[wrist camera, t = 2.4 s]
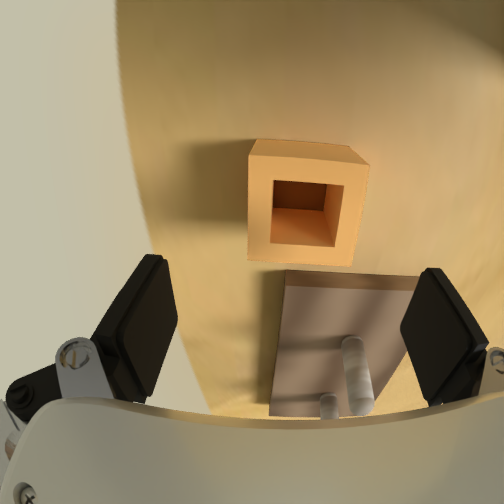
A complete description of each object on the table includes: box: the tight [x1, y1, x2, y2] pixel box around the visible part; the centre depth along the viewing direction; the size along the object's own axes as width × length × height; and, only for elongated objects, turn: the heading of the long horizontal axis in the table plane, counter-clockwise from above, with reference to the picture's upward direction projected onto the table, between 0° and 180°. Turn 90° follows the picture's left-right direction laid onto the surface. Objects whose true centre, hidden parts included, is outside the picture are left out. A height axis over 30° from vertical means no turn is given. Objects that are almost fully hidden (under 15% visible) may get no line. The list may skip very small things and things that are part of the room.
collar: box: [248, 139, 370, 267], centre depth 17 cm, size 6×6×5 cm
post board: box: [269, 270, 420, 420], centre depth 24 cm, size 13×22×10 cm, turn 179°
